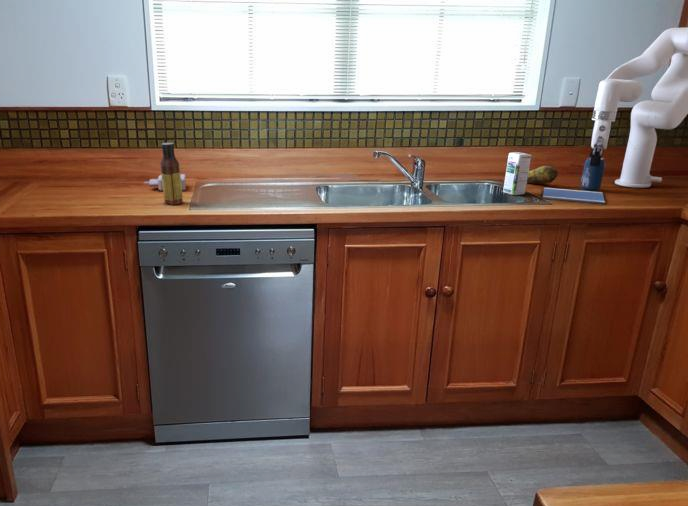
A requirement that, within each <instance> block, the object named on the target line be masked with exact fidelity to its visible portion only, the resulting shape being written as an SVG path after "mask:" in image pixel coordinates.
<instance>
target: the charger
mask: <svg viewBox="0 0 688 506" xmlns="http://www.w3.org/2000/svg"><path fill="white" fill-rule="evenodd" d="M180 176H181V185H182V191H186V187H187V185H186V184H187V182H186V174H185V173H180ZM143 184H144V185H147V184H148V185H149V187H150V188H151V187H158V190H159V191H160V192H163V185H162V176H161V174H160V175H158V177H157V178H151V179H149V181H144V182H143Z"/></svg>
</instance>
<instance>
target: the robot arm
mask: <svg viewBox="0 0 688 506" xmlns="http://www.w3.org/2000/svg"><path fill="white" fill-rule="evenodd" d="M669 61H670V64H669V67H668V68H667V70H666V71H665V72H664V73H663V75H662V76H661V77H660V78H659V80H658V81H657V83H656V84H655V86H654V87H653V88H652V90H651V94H650V97H651V100H649V99H648V100H647V99H646V100H642V101H639V102H637V103H636V104H635V105H634V106H633V107H632V109H631V112H630V129H629V136H628V141H627V144H626V150H625V154H624V159H623V163H622V168H621V173H620V177H619V178H617V179H615V180H614V184H615V185H617V186H621V187H627V188H634V189H635V188H636V189H647V188H650V187H652V183H662V181H663V177H661V176H660V177H658V176H653V175H651V174H650V173H651V172H650V171H651V167H652V163H653V159H654V154H655V150H656V147H657V141H658V136H657V132H656V129H658V130H673V129H675V128H678V126H680V124H681V123H682V122H683V121H684V120H685V118H686V117H687V115H688V27H687V26H686V27H670V28H667V29H665V30H663V31H662V32H661V33H660V35H659V36H658V37H657V38H656V39H655V40H654V41H653V42H652V43H651V44H650V45H649V46H648V47H647V48H646V49H645V50H644V52H642V54H640V55H639V56H637V57H634V58H632V59H631V60H628V61H627V62H625V63H623V64H621V65H619V66H618V67H616V68H614V70H613V71H612V72H611V73H610V74H609V75H607V77H606V78H605V79H603V80H601V81H599V84H598V89H597V93H596V97H595V102H594V106H593V107H594V108H593V112H592V117H591V120H592V121H594V124H593V129H592V135H591V141H590V147H591V150H590V152H589V157H591V161H590V166H597V167H598V166H599V165H600V161H601V158H602V156H603V155H602V153H603V150H604V151H605V150H607V147H608V141H609V137H610V133H611V127H612V122H615V121H616V118H617V117H616V116H617V114H618V113H617V112H618V108H619V104H620V102H621V103H632V102H636V101H637V100H639V99H640V98H641V96H642V95H643V92H644V87H643V85H642V83H641V82H639V81H637V80H635V79H638V78H641V77H642V78H643V77H645V76H649V75H653V74H655V73H657V72H659V71H661V69H662V68H663V67H664V66H665V65H666V64H667V63H668V62H669Z"/></svg>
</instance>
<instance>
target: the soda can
mask: <svg viewBox="0 0 688 506" xmlns="http://www.w3.org/2000/svg"><path fill="white" fill-rule="evenodd" d="M590 161H591V157H590V156H588V157H587V159H586V160H585V161H584V165H583V169H582V175H581V180H580V185H579V186H580V189H581V191H592V192H599V191H600V189H601V186H602V182H603V177H604V172H605V168H606V162H605V161H606V160H605V158H604V157H601V161H600V165H599V166H598V167H597V166H590Z"/></svg>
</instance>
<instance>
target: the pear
mask: <svg viewBox="0 0 688 506" xmlns="http://www.w3.org/2000/svg"><path fill="white" fill-rule="evenodd" d="M558 176H559V171H558V169H557V168H556V167H554V166H553V165H542V166H540V167H537V168H534V169H532V170H531V169H530V170H529V172H528V178H527V184H533V185H538V186H539V185H540V186H541V185H546V184H551V183H552V182H554V181H555V180H556V178H557V177H558Z"/></svg>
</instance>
